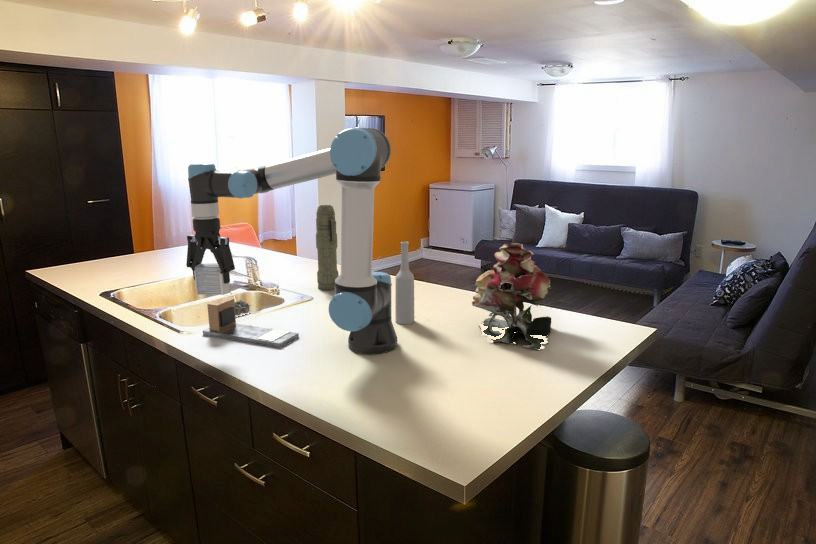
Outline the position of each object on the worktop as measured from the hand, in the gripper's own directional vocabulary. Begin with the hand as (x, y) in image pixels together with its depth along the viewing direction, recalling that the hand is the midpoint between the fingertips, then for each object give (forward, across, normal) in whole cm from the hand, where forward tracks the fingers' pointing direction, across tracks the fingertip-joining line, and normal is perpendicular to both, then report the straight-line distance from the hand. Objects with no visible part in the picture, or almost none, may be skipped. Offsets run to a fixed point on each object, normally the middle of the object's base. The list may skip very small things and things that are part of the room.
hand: (212, 292), depth 168 cm
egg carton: (+18, +18, -29) cm, 38 cm away
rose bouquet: (+18, -80, -47) cm, 94 cm away
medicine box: (+1, 0, 0) cm, 1 cm away
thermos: (+17, +4, -73) cm, 75 cm away
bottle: (+18, -44, -44) cm, 65 cm away
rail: (+17, -4, -11) cm, 21 cm away
